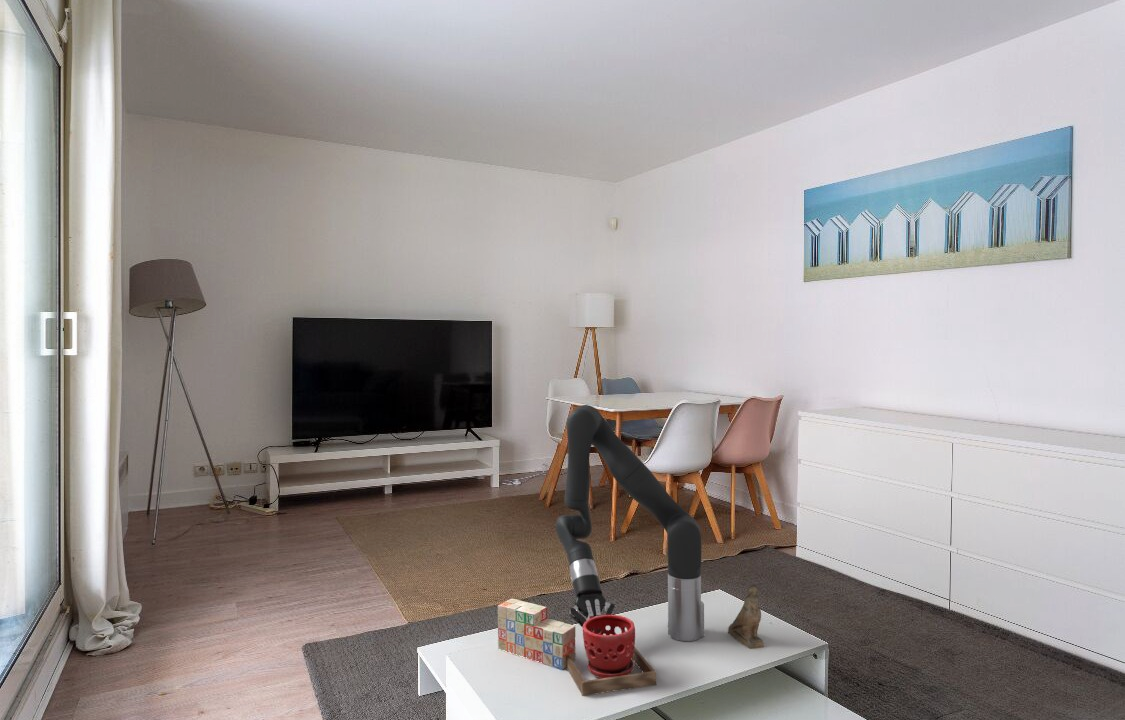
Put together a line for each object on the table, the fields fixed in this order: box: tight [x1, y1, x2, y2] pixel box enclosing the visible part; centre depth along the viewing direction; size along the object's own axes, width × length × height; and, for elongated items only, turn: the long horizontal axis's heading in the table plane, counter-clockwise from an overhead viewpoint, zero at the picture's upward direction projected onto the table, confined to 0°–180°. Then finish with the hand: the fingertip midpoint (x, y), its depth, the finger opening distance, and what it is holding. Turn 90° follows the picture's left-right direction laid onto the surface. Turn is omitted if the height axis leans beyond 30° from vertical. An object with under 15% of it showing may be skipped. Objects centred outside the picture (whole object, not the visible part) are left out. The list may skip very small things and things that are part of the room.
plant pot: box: [582, 614, 636, 679], centre depth 165 cm, size 13×13×12 cm
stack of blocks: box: [497, 598, 576, 671], centre depth 175 cm, size 21×6×12 cm, turn 56°
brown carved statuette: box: [727, 585, 765, 650], centre depth 182 cm, size 12×6×18 cm, turn 14°
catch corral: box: [565, 646, 657, 697], centre depth 163 cm, size 19×14×3 cm
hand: (599, 642), depth 171 cm, fingers closed
